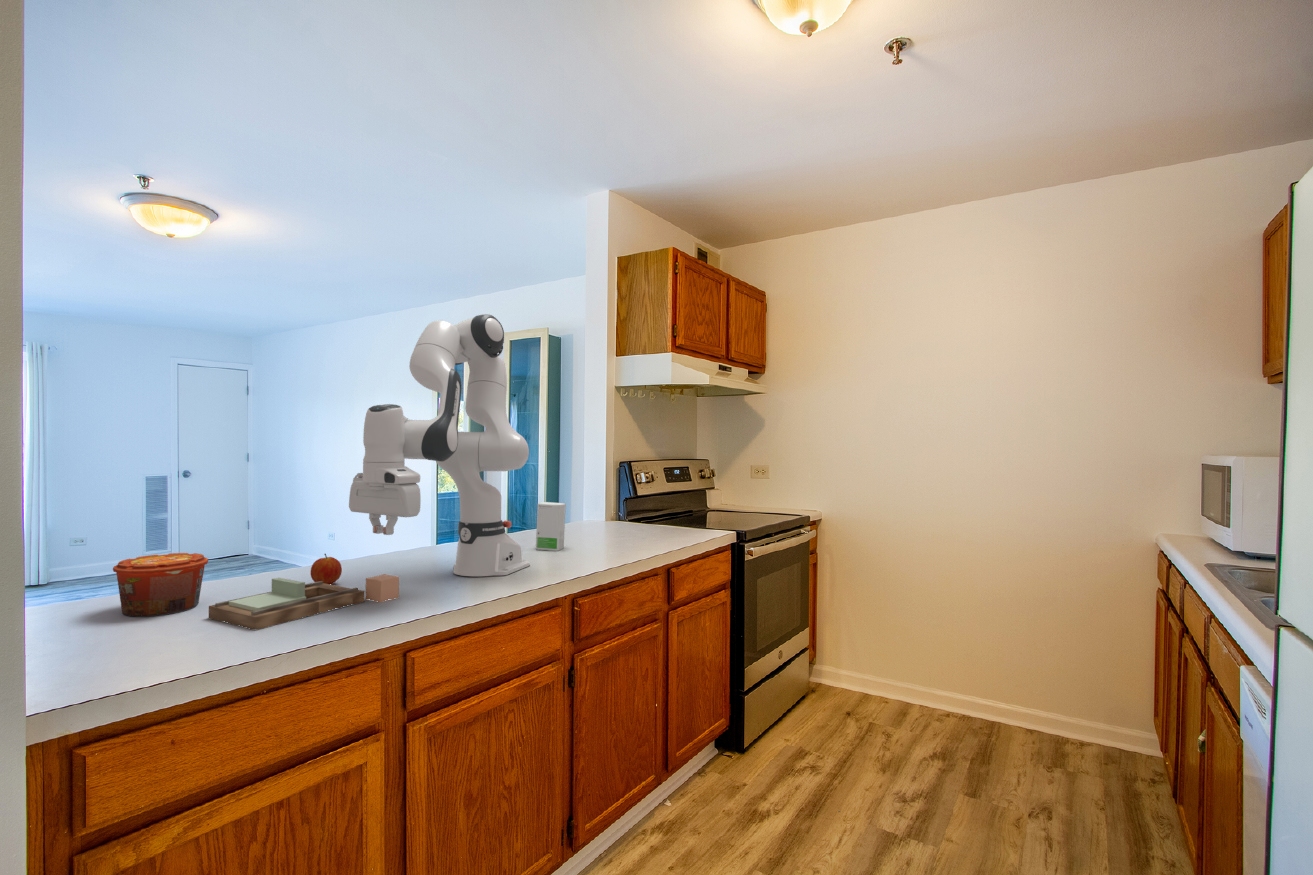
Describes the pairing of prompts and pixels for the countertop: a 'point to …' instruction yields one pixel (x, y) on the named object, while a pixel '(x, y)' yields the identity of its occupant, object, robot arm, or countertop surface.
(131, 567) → the food container
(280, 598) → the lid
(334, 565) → the fruit
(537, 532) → the skincare box
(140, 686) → the countertop surface
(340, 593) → the puzzle board
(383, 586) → the terracotta block
